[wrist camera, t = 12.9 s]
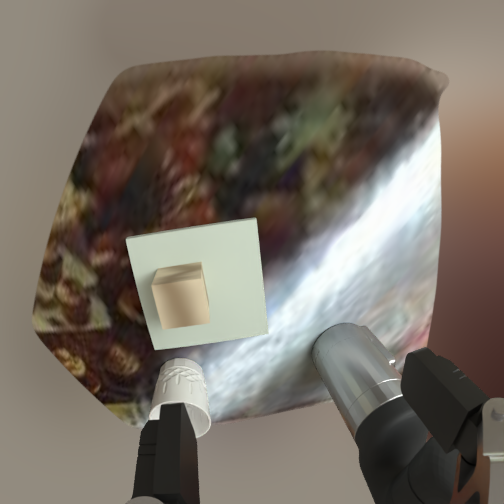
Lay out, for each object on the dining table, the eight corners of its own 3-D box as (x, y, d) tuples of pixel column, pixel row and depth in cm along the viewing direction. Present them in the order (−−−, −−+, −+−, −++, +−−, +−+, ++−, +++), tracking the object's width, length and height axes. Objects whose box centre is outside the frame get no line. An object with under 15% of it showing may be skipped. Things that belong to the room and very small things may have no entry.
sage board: (255, 217, 39) (256, 219, 38) (267, 329, 43) (268, 333, 42) (127, 237, 37) (125, 239, 36) (155, 346, 42) (154, 350, 41)
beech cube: (201, 261, 38) (201, 278, 33) (208, 301, 40) (209, 323, 35) (157, 268, 38) (151, 285, 32) (167, 307, 39) (162, 329, 34)
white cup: (159, 349, 42) (151, 395, 33) (212, 358, 44) (216, 406, 34) (153, 388, 44) (147, 435, 35) (203, 396, 46) (205, 443, 36)
